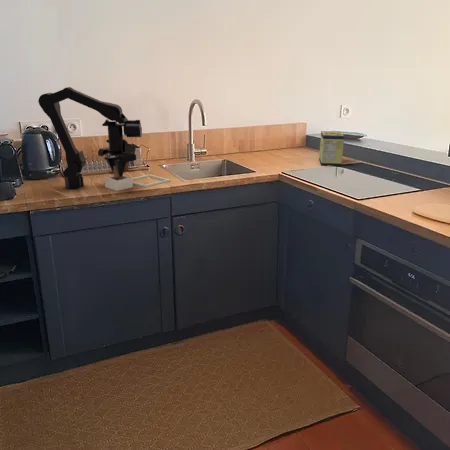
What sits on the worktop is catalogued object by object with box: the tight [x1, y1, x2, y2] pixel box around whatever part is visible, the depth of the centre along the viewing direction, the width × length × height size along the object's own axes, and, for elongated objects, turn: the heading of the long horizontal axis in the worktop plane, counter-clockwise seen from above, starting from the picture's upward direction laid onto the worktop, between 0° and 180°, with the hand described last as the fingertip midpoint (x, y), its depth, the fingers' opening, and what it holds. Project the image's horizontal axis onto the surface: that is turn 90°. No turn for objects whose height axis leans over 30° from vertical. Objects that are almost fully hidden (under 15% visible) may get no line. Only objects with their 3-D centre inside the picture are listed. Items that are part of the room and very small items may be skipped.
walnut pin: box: [113, 165, 124, 180], centre depth 194 cm, size 4×4×9 cm
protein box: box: [318, 130, 345, 167], centre depth 246 cm, size 10×16×16 cm
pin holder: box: [104, 174, 134, 192], centre depth 195 cm, size 8×8×5 cm
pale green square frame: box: [132, 173, 171, 189], centre depth 205 cm, size 14×14×2 cm
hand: (118, 175), depth 194 cm, fingers closed on walnut pin, 3 cm apart
